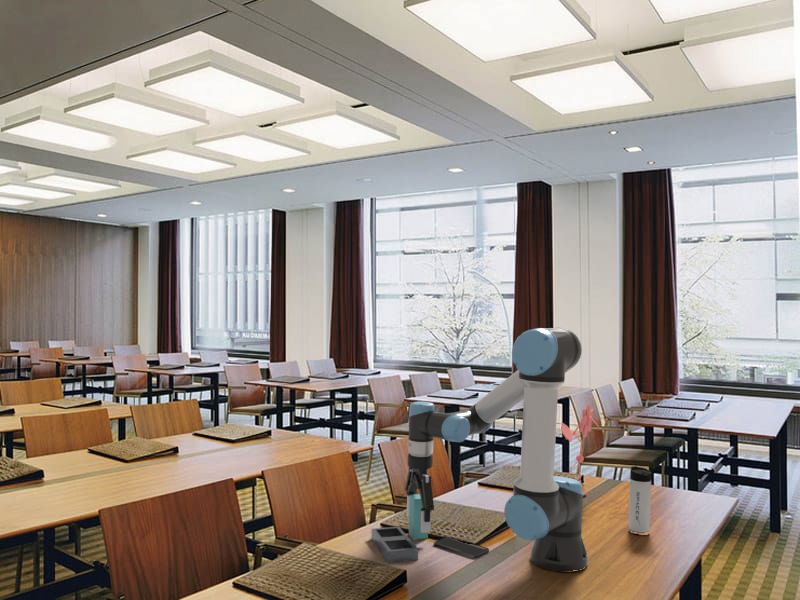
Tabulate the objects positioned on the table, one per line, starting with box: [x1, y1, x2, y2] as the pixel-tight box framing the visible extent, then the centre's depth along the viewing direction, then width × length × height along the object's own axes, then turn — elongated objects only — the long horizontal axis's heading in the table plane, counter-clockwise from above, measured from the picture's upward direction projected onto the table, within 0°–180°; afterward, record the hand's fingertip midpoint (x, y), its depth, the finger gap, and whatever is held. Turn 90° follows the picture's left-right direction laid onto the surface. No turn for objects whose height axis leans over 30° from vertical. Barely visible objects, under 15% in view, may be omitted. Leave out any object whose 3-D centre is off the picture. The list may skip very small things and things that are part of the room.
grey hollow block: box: [371, 526, 419, 563], centre depth 190 cm, size 18×8×3 cm, turn 17°
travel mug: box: [628, 465, 652, 533], centre depth 209 cm, size 6×7×20 cm
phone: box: [433, 536, 490, 560], centre depth 191 cm, size 8×1×15 cm
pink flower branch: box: [560, 403, 609, 507], centre depth 241 cm, size 15×26×35 cm, turn 145°
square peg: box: [408, 493, 429, 540], centre depth 200 cm, size 4×4×12 cm
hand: (418, 524), depth 200 cm, fingers open, 13 cm apart
